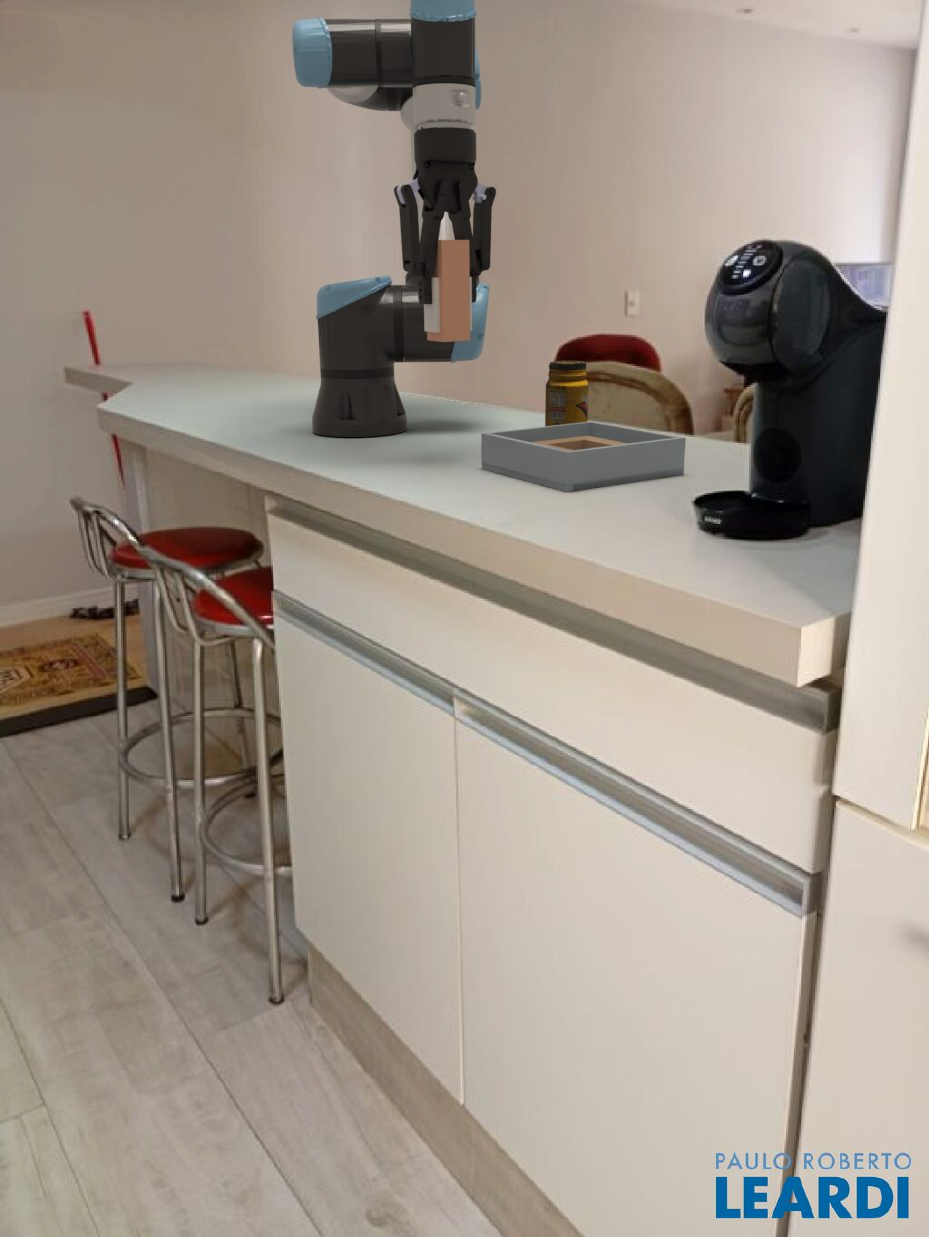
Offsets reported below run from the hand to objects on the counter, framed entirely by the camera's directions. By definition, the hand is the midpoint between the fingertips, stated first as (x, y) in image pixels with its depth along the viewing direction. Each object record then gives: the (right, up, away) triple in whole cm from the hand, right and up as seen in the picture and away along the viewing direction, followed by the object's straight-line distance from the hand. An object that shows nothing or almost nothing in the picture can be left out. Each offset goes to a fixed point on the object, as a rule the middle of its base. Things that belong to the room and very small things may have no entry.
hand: (448, 330), depth 128 cm
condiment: (+16, -13, +16) cm, 26 cm away
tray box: (+17, -18, -2) cm, 25 cm away
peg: (0, -1, 0) cm, 1 cm away
